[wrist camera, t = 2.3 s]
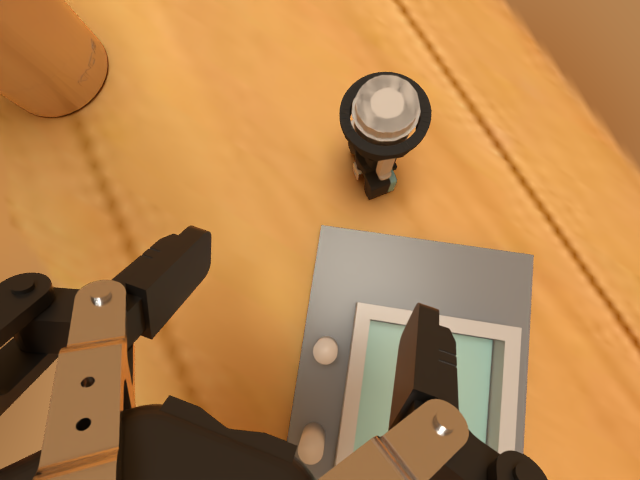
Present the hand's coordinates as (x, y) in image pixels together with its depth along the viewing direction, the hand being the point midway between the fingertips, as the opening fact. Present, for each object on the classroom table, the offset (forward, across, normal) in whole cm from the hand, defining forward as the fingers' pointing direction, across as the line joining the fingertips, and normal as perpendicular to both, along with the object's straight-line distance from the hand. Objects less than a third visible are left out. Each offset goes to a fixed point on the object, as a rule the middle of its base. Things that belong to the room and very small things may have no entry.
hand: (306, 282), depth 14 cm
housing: (+8, -8, +13) cm, 17 cm away
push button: (+19, 0, +3) cm, 19 cm away
